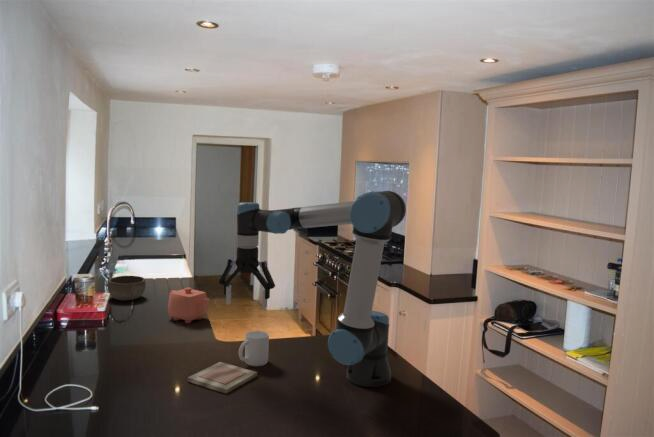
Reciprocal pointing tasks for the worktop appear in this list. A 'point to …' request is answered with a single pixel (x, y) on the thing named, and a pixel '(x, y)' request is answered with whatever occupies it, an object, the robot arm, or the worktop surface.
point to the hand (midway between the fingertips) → (246, 305)
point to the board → (222, 377)
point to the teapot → (187, 304)
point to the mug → (255, 348)
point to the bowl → (126, 287)
